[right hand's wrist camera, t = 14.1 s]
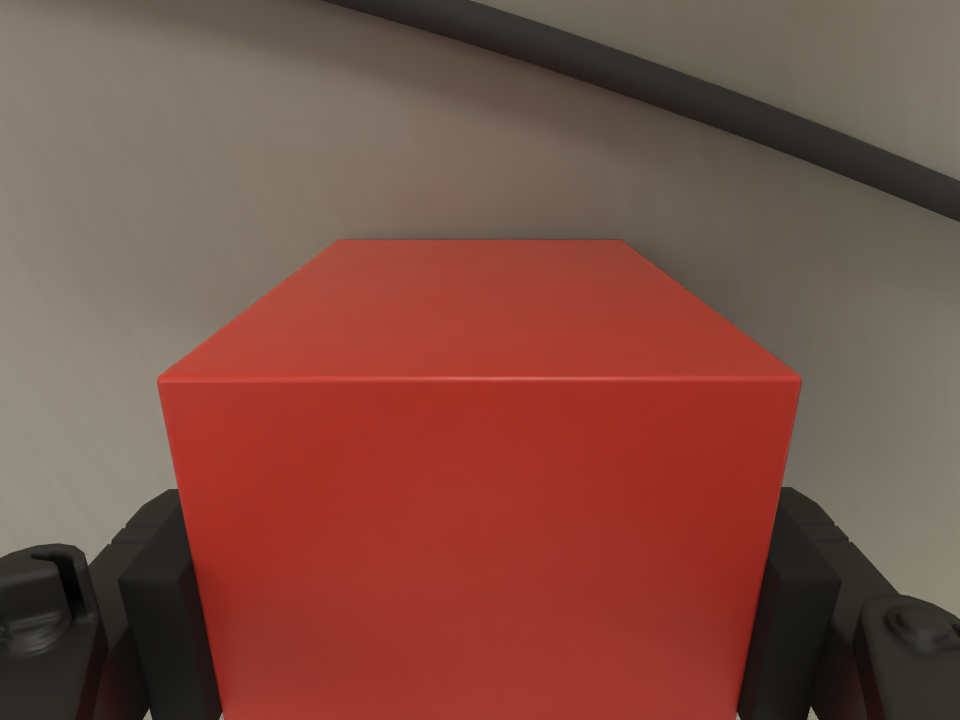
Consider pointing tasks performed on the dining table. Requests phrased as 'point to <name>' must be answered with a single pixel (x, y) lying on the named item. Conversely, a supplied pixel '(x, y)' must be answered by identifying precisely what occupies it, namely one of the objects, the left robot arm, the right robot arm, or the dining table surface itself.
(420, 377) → the red block
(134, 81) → the dining table surface
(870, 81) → the dining table surface
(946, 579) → the dining table surface
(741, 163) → the dining table surface
